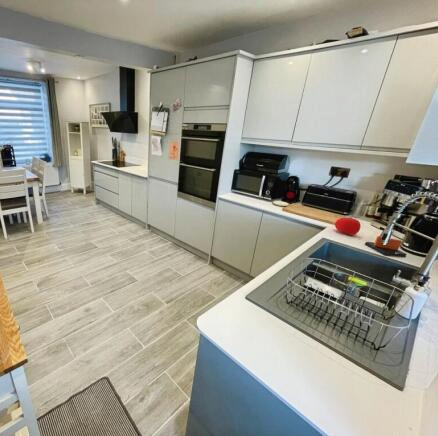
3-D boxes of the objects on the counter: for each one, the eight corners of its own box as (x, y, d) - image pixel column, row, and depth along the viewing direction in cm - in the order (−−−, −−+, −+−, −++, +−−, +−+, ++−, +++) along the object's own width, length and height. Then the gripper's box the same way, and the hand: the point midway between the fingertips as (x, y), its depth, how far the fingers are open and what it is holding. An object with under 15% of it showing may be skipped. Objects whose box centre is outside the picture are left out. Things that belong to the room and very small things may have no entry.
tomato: (351, 238, 159) (358, 222, 155) (329, 230, 171) (334, 215, 167) (361, 235, 165) (367, 220, 161) (339, 228, 176) (344, 213, 172)
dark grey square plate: (409, 257, 137) (410, 254, 136) (382, 255, 137) (384, 252, 136) (385, 245, 151) (386, 242, 150) (361, 243, 151) (362, 240, 151)
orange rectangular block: (396, 249, 142) (401, 239, 140) (397, 250, 141) (402, 240, 139) (373, 244, 146) (377, 235, 144) (374, 246, 145) (378, 236, 142)
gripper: (456, 169, 127) (434, 210, 136) (431, 167, 128) (411, 209, 136) (473, 171, 120) (449, 215, 129) (447, 169, 120) (425, 213, 129)
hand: (430, 212), depth 132 cm, fingers closed
